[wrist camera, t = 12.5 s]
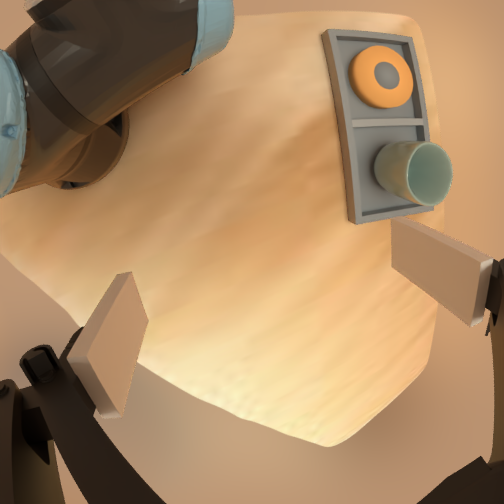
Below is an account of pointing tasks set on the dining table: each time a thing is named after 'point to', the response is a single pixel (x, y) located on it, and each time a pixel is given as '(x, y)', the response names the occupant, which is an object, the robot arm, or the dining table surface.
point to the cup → (414, 171)
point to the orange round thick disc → (380, 77)
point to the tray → (372, 124)
